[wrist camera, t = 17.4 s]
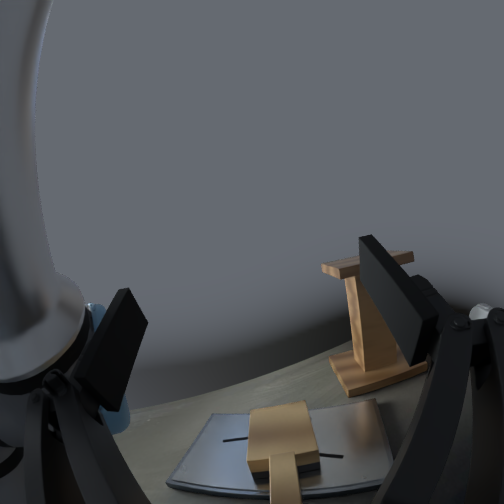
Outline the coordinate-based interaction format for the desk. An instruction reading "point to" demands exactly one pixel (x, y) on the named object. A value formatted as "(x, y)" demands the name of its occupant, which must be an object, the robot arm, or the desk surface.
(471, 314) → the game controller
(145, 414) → the desk surface
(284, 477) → the eraser
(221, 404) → the desk surface
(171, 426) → the desk surface
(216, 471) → the whiteboard
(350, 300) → the shelf stand
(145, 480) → the desk surface
